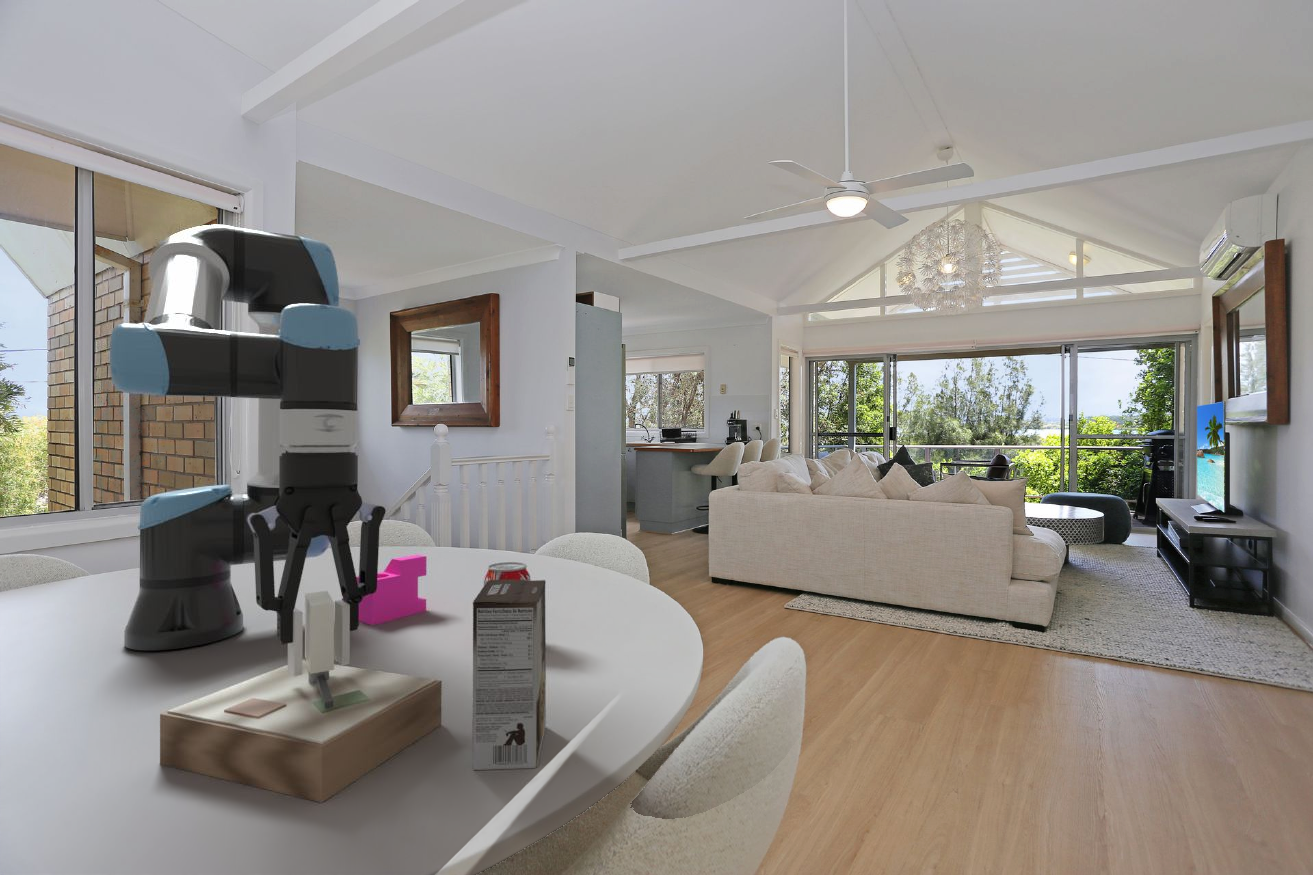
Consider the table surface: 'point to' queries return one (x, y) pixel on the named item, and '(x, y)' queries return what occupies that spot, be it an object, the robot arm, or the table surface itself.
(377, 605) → the bracket
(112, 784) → the table surface
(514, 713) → the coffee box
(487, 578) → the soda can
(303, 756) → the switch box
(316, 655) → the switch lever
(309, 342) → the robot arm
